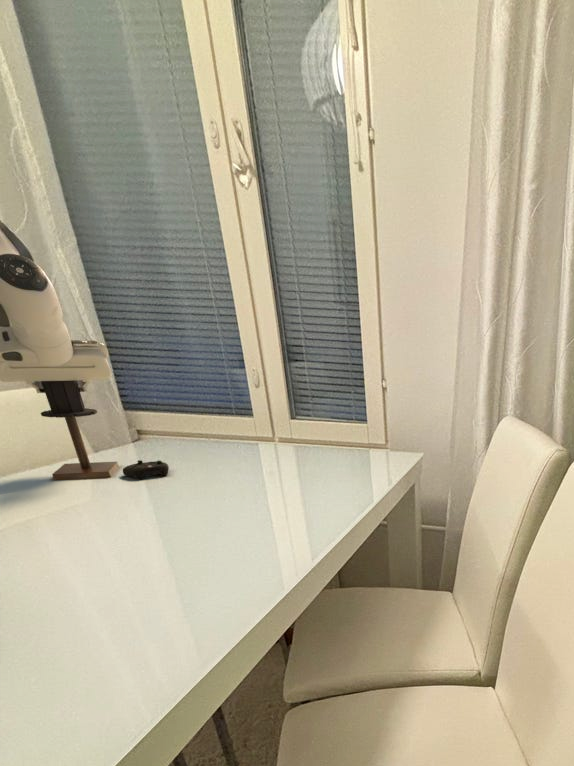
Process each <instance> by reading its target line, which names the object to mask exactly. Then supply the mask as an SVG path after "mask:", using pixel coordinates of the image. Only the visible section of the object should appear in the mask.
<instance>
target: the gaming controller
mask: <svg viewBox="0 0 574 766" xmlns="http://www.w3.org/2000/svg"><path fill="white" fill-rule="evenodd" d="M169 468H170V466H169V464H168V463H167V462H163V461H162V460H156V461H146V462H144V461H143V460H141V459H139V460H137V463H133V464H128V465H127V466H124V467H123V468H122V473H123V476H125V477H128V478H131V477H133V478H135V479H137V480H143V479H144V477H146V476H147V477H148V476H154V475H155V476H156V475H161V476H162V477H167V476H168V474H169V470H170V469H169Z"/></svg>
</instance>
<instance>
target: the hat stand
mask: <svg viewBox="0 0 574 766" xmlns="http://www.w3.org/2000/svg"><path fill="white" fill-rule="evenodd" d="M64 420H65V423H66V426H67V429H68V433H69V435H70V438H71V442H72V444H73V447H74V450H75V454H76V457H77V459H78V462H73V463H71V462H70V463H64V464H62V465H61V466H60V467H59V468H58V469H57V470H55V471H54V472H53V473H52V474H51V475H52V478H53V481H68V480H69V481H70V480H87V479H88V480H89V479H90V480H91V479H109V478H112V477H113V475H115V473H116V472H117V471H118V469H119V468H120V466H119V462H118V461H97V462H90V458H89V456H88V455H89V454H88V452H87V448H86V446H85V442H84V440H83V436H82V433H81V431H80V427H79V424H78V420H77V417H75V416H74V417H64Z"/></svg>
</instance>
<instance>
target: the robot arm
mask: <svg viewBox="0 0 574 766" xmlns="http://www.w3.org/2000/svg"><path fill="white" fill-rule="evenodd" d="M53 285H54V284H53V283H52V281H51V279H50V278H49V277H48V275H47V274H46V273H45V271H44V270H43V269H42V267H41V266H39V265H38V263H36V262H35V261H34V257H33V254H32V253H31V250H30V249H29V247H28V246H27V244H26V243H25V242H24V241H23V239H21V237H19V235H18V234H17V233H16V232H14V231H13V229H11V228H10V227H9V225H7V224H6V223H4V222H3V220H1V219H0V381H1V382H4V383H20V382H23V383H24V382H26V384H27V385H29V386H30V387H32V388H33V389H35V391H36V394H45V391H44V387H43V384H42V382H41V381H71V380H76V382H77V385H78V389H79V392H80V393H88V390H87V387H88V386H89V384H90V383H91V381H103V380H104V381H107V380H110V379H111V378H112V377H113V373H112V370H111V367H110V364H109V361H108V357H109V349H108V347H107V346H106V345H105V344H104V343H102V342H98V341H97V340H81V339H80V340H76V339H75V340H72V339H71V336H70V333H69V330H68V329H69V328H68V327H67V325H66V323H65V322H64V320H63V319H64V313H63V309H62V306H61V302H60V300H59V296H58V295H57V292H56V289H55V287H54V286H53Z"/></svg>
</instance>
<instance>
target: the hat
mask: <svg viewBox="0 0 574 766" xmlns="http://www.w3.org/2000/svg"><path fill="white" fill-rule="evenodd" d="M76 381H77V380H71V381H41V382H42V384H43V387H44V391H45V393H44V394H45V397H46V399H47V403H48V405H49V408H50V409H48V410H44V411H42V412H40V416H41V417H45V418H57V419H59V418H65V417H74V416H75V417H76V418H81V417H88V416H92V415H96V414H97V413H98V410H97V409H94V408H87V407H86V406H85V404H84V401H83V397H82V395H81V392H79V389H78V385H77V382H76Z"/></svg>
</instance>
